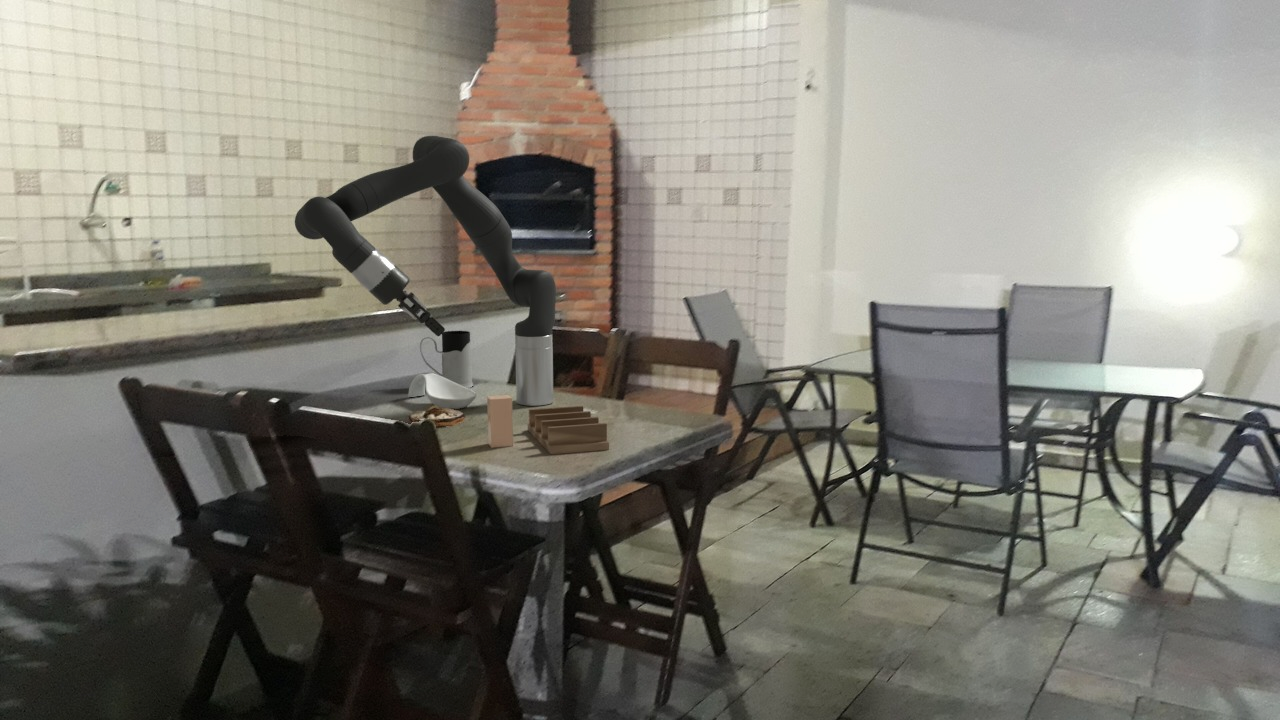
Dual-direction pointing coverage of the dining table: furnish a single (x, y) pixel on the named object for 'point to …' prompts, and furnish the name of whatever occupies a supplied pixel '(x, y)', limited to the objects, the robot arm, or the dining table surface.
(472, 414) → the dining table surface
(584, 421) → the walnut rack
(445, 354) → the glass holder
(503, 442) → the clay block
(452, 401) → the spoon rest
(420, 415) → the pie
